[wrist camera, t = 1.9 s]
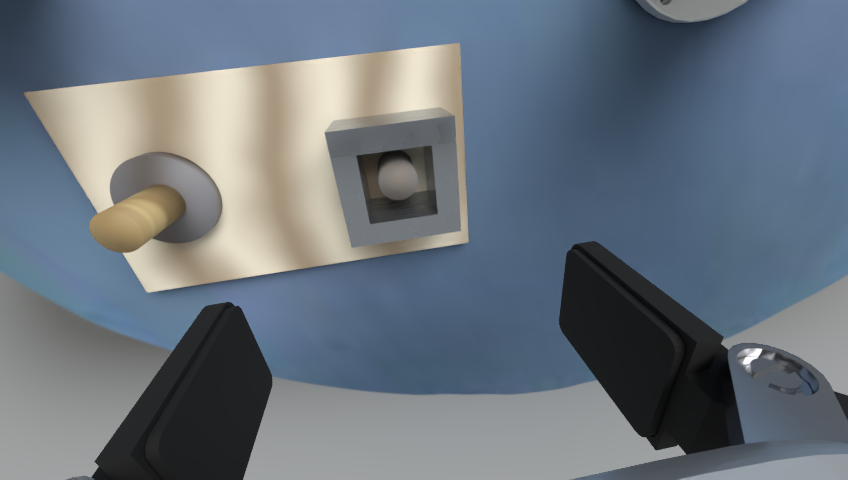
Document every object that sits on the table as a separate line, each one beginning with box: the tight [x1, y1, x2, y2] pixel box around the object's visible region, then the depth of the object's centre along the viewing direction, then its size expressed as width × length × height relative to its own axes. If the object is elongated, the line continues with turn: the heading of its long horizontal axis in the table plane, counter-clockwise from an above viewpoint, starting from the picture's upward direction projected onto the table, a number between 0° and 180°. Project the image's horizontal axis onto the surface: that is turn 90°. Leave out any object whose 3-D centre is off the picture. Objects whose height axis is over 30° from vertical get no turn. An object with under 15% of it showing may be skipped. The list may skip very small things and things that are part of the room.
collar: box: [324, 107, 461, 248], centre depth 21 cm, size 7×7×4 cm
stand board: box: [23, 43, 469, 293], centre depth 21 cm, size 25×14×7 cm, turn 96°
